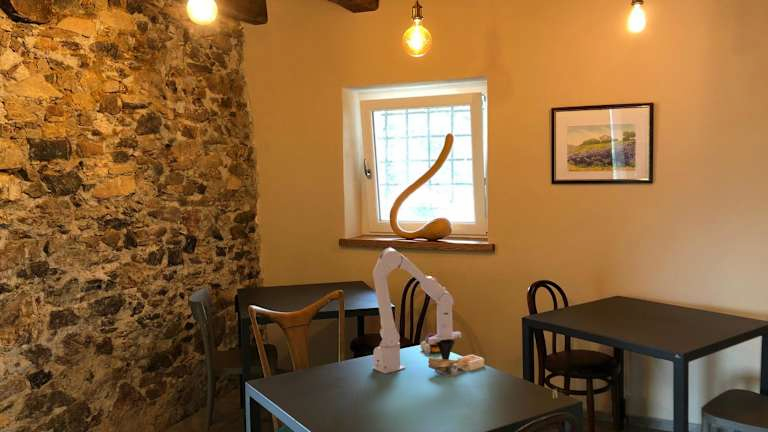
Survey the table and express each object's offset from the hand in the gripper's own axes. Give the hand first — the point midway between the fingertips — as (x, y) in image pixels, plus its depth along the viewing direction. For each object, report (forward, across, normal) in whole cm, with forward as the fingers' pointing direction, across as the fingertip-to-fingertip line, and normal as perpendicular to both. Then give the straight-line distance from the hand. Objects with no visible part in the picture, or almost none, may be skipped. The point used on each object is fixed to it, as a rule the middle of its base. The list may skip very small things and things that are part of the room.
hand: (445, 359), depth 230 cm
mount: (+2, -5, -7) cm, 9 cm away
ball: (0, +4, -7) cm, 8 cm away
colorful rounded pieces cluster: (+2, +8, +17) cm, 19 cm away
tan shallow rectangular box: (+2, +6, -7) cm, 9 cm away
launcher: (+1, -6, -3) cm, 7 cm away
